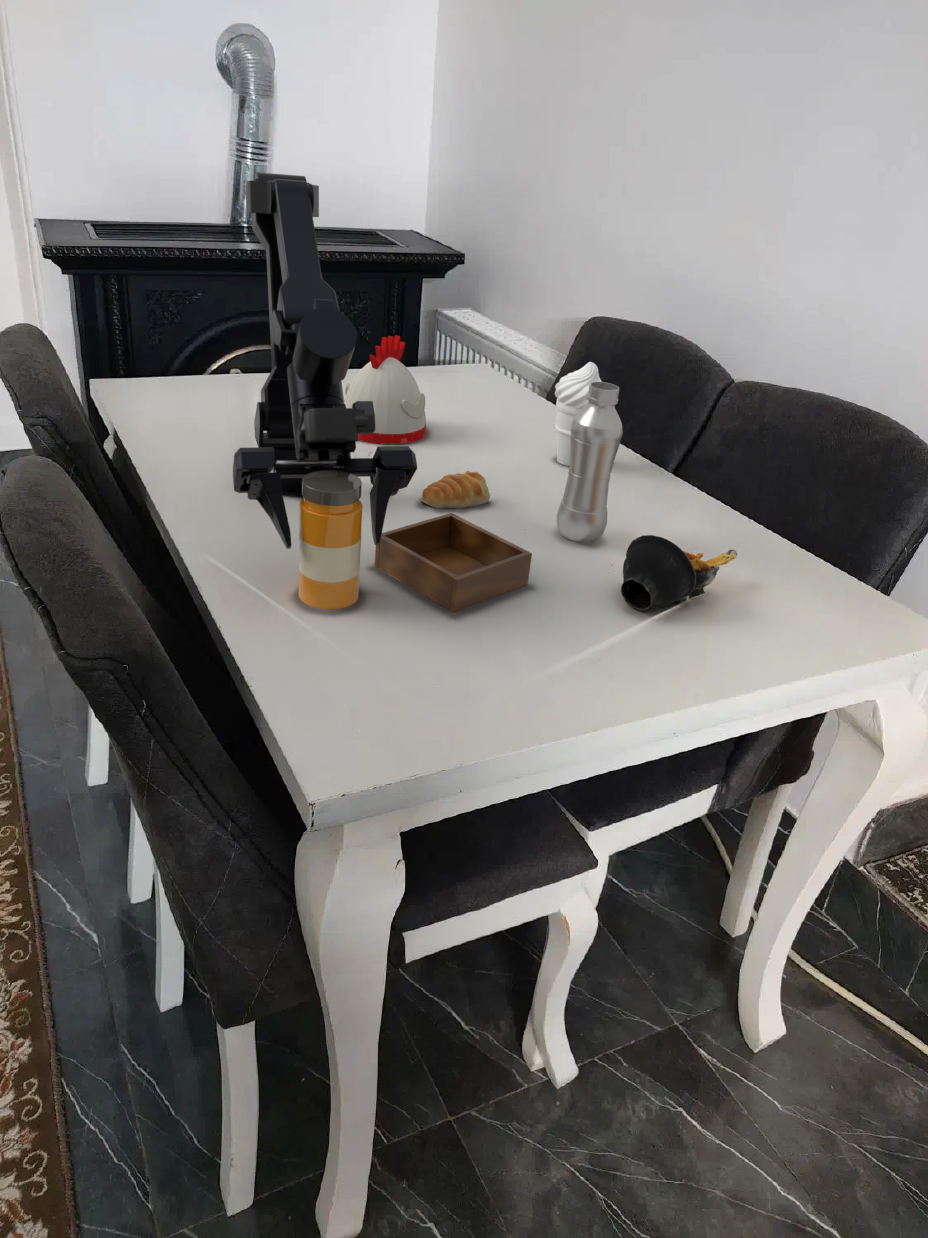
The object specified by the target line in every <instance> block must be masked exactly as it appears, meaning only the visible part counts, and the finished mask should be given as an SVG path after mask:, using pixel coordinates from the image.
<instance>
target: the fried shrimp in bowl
mask: <svg viewBox="0 0 928 1238" xmlns="http://www.w3.org/2000/svg"><path fill="white" fill-rule="evenodd" d="M703 557H704V553H703V552H698V553H696V554H694V553H691V552H688V551H684V550H683V549H682V548H681V547H680V546H678V545H677V544H676V543H674V542H673V541H671V540H669V539H667V538H664V537H662V536H658V535H654V534H646V535H641V536H638V537H636V538H635V539H633V540H632V541H631V542H630V543H629V545H628V547H627V549H626V552H625V558H624V561H623V565H622V578H623V580H622V581H623V583H622V584H621V586H620V587H621V589H620V594H621V596H622V597H623V599H624V601H625V602H626V603H627V604H628V605H629V606H630V607H632V608H633V609H635V610H638V611H642V612H644V611H648V610H649V609H650V608H654V609H657V608H658V609H661V608H664V607H668V606H670V605H671V604H673V603H675V602H677V603H685V602H687V601H689V600H693V599H696V598H700V597H702V596H704V595H706V591H705V589H704V588H705V587H708V585H711V584H712V582H714V580H715V578H716V575H717V574H718V572H719V570H720V566H724V565H727V564H729V562H731V561H733V560H735V559H736V558H737V557H738V552H737V551H736V550H735V549H728V551H726V552H724V553H720V554H719V555H717V556H715V557H713V558H712V557H711V558H710V559H707V560H702V559H701V558H703ZM648 593H649V595H650V604H649V606H647V605H644V604H642V603H640V602H639V601H637V598H638V597H641V596H643V595H646V594H648Z"/></svg>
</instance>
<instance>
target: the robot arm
mask: <svg viewBox="0 0 928 1238" xmlns="http://www.w3.org/2000/svg"><path fill="white" fill-rule="evenodd" d="M254 175H255V176H254V179H253V180H246V181H245V207H246V209H245V210H246V212H247V213H248V214H251V225H252V231H253V233H254V235H255V236H256V238H257V239H258V241H259V243H260V244H261V246H262V248H263V249H264V251H265V257H266V274H267V275H266V277H267V293H268V294H267V296H268V314H269V315H268V316H269V318H268V319H269V336H270V337H269V338H270V359H271V360H270V361H271V370H270V372H269V375H268V376H267V379H266V380H265V382H264V384H263V386H262V388H261V390H260V401H257V402H256V407H255V413H254V421H253V422H254V426H253V427H254V439H255V441H256V445H257V447H255V446H254V447H239V448H238V449H237V450H236V451H235V452H234V453H233V454H234V455H233V463H232V464H233V465H232V481H233V482H232V483H233V491H234V492H235V493H238V494H246V495H247V499H248V500H251V501H257V502H258V503H259V505H260V506H261V508H262V509H263V510H264V512H265V513H266V514H267V516H268V517H269V519H270V521H271V522H272V524H273V526H274V528H275V530H276V531H277V533H278V536H279V537H280V539H281V541H282V542H283V545H284V546H285V549H286V550H290V549H291V548H292V536H291V535H292V534H291V533H292V532H291V528H290V524H289V523H290V522H289V519H288V513H287V510H286V505H285V501H284V495H287V496H295V497H301V498H303V495H302V478H303V477H304V476H305V475H307V474H309V473H311V472H315V471H323V470H333V471H342V472H346V473H350V474H353V475H355V476H357V477H358V478H364V477H368V478H369V480H370V484H371V485H372V487H371V489H370V491H369V507H370V523H371V533H372V534H371V536H372V539H373V544H374V546H376V545H378V544H379V543H380V539H381V534H382V533H383V529H384V524H385V519H386V515H387V510H388V505H389V501H390V498H391V497H394V496H396V495H397V494H398V493H399V491H400V490H403V489H405V488H407V487H408V486H409V485H410V483H411V481H412V479H413V477H414V475H415V474H416V472H417V471H418V463H417V462H418V461H417V456H416V453H415V451H414V450H412V448H411V447H410V446H409V445H389V446H388V445H383V446H382V445H379V446H377V447H376V449H375V452H374V453H373V456H372V457H360V458H359V457H358V458H355V457H354V458H352V453H355V451H356V449H357V444H356V442H359V440H358V434H371V433H373V432H374V431H375V413H374V407H373V401H356V402H355V403H353V404H352V408H346V404H344V400H345V395H344V387H343V381H344V380H345V378H346V376H347V373H348V371H349V367H350V364H351V361H352V358H353V355H354V351H355V348H356V345H357V342H358V330H357V328H356V327H355V325H354V323H353V321H352V319H350V317H348V316H347V315H346V314H345V313H344V312H343V311H342V312H341V310H340V305H339V302H338V297H337V292H336V291H335V290H334V289H333V288H332V287H331V286H330V284H328V283H327V282H326V281H325V280H324V278H323V274H322V267H321V262H320V257H319V249H318V241H317V235H316V230H315V223H314V222H315V221H314V218H319V217H320V185H316V184H312V183H310V182H308V181H307V178H306V176H305V175H297V174H284V173H271V172H261V171H260V172H258V171H257V172H255V174H254Z"/></svg>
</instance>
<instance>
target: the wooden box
mask: <svg viewBox="0 0 928 1238" xmlns="http://www.w3.org/2000/svg"><path fill="white" fill-rule="evenodd" d="M374 554H375V555H374V567H375V568H376V569H378V570H380V571H381V572H383V573H385V574H386V575H388V576H390V577H391V578H393V579H395V580H397V581H398V582H399V583H402V584H403V585H405V586H406V587H408V588H410V589H412V590H413V591H415V592H417V593H419V594H420V595H422V596H423V597H425V598H427V599H428V600H431V601H432V602H433V603H435V604H437V605H439V606H441V608H444V609H445V610H447V611H449V612H450V613H452V614H456V613H459V612H461V611H464V610H467V609H469V608H472V607H474V606H477V605H479V604H482V603H484V602H487V601H489V600H492V599H495V598H498V597H500V596H503V595H505V594H507V593H511V592H513V591H516V590H518V589H520V588H523V587H525V586H528V584H529V577H530V571H531V563H532V557H533V552H530V551H528V550H527V549H524V548H522V547H521V546H519V545H516V544H515V543H513V542H510V541H509V540H507V539H504V538H502V537H500V536H498V535H497V534H495V533H493V532H490V531H489V530H486V529H485V528H482V527H480V526H479V525H477V524H475V523H472V522H470V521H469V520H466V519H464V518H462V517H461V516H459V515H456V514H455V513H453V512H450V513H449V512H448V513H446V514H443V515H439V516H435V517H432V518H429V519H426V520H422V521H419V522H415V523H412V524H408V525H405V526H401V527H397V528H395V529H391V530H388V531H385V532H382V534H381V539H380V543H379V544H378V545H375V553H374Z"/></svg>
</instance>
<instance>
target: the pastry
mask: <svg viewBox="0 0 928 1238" xmlns="http://www.w3.org/2000/svg"><path fill="white" fill-rule="evenodd" d="M489 490H490V489H489V486H488V485H487V481H486V478H485V477H484V476H483V475H482V474H480V473H479V472H478V471H469V470H466V471H465V472H464V473H454V474H450V473H449V474H446V475H444V476H442V478H441V479H438V480H437V481H433V482H432V483H431V484H429V485H427V486H426V487H425V488H424V489H423V490H422V493H421V494H422V496H421V498H420V500H421V502H423V503H424V504H426V505H428V506H430V507H433V508H435V509H464V508H469V507H476V506H480V505H485V504H487V503H488V502H489V501H490V499H491V493H490V491H489Z"/></svg>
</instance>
